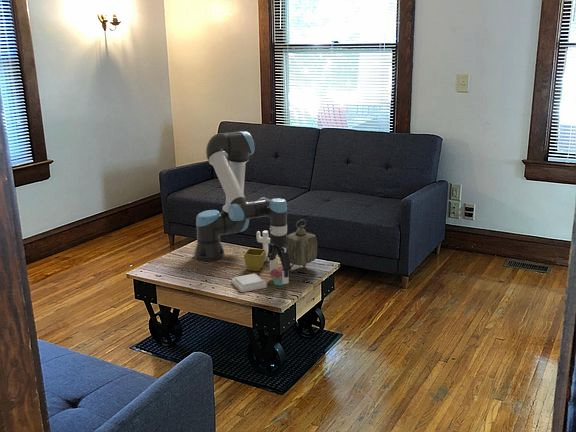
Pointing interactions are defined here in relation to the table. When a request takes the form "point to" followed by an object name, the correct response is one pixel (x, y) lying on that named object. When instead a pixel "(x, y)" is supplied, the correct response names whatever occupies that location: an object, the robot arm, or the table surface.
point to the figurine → (264, 242)
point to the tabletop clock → (301, 246)
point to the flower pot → (254, 259)
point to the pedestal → (249, 282)
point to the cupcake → (276, 275)
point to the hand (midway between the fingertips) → (279, 278)
